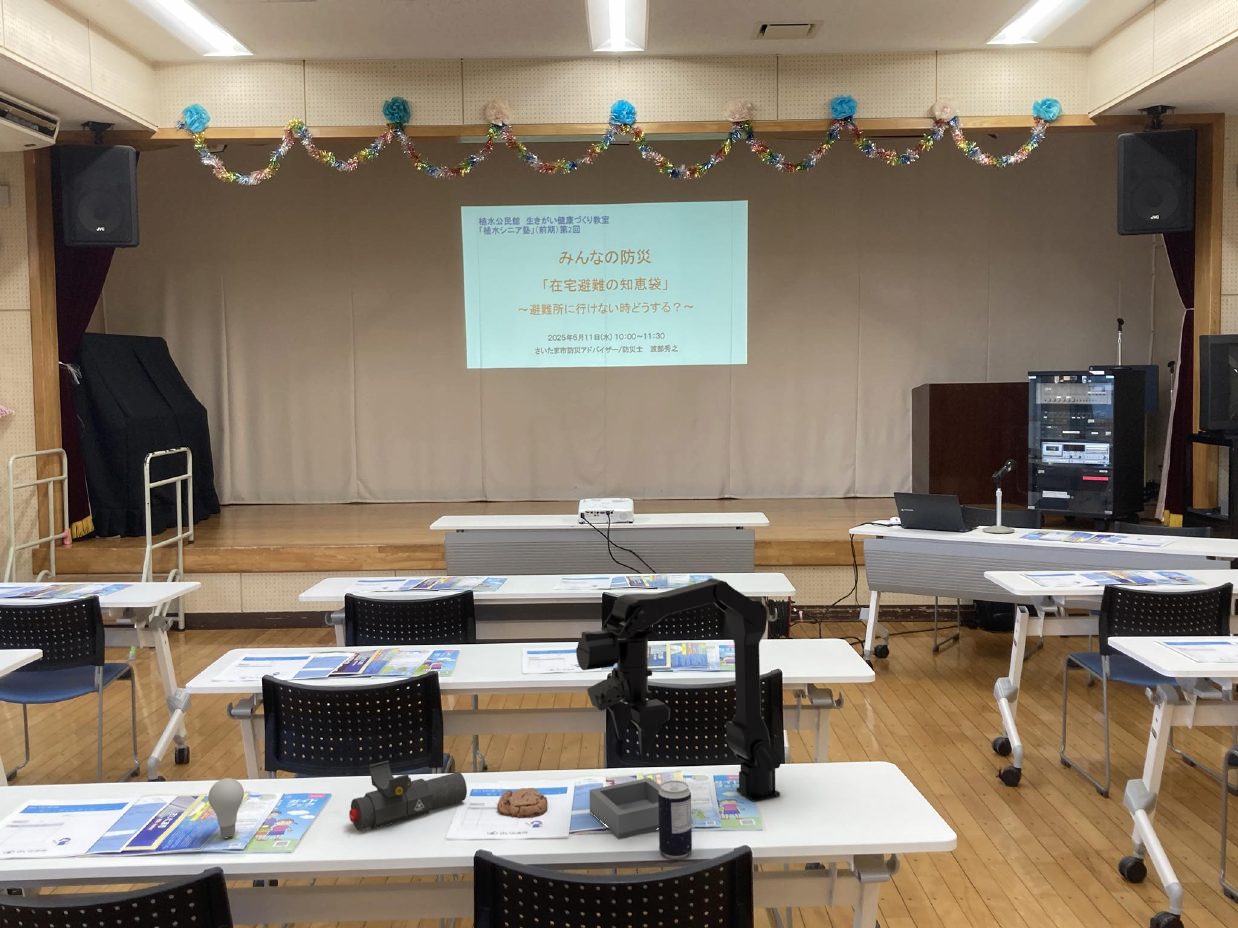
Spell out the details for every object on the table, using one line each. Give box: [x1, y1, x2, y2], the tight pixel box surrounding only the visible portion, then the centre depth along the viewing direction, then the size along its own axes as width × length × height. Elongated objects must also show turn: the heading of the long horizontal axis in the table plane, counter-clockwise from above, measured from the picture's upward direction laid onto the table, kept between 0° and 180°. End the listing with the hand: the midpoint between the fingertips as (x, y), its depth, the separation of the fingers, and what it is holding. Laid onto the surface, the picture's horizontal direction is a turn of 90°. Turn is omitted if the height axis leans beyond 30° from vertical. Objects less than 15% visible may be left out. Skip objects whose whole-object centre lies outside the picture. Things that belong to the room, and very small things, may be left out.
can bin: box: [589, 777, 661, 840], centre depth 183 cm, size 13×13×4 cm
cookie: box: [496, 787, 549, 819], centre depth 189 cm, size 10×11×3 cm
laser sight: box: [348, 760, 468, 832], centre depth 186 cm, size 10×22×10 cm, turn 127°
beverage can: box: [658, 780, 693, 860], centre depth 168 cm, size 6×6×12 cm
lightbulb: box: [207, 777, 245, 838], centre depth 178 cm, size 6×6×11 cm
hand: (632, 746), depth 180 cm, fingers open, 9 cm apart
